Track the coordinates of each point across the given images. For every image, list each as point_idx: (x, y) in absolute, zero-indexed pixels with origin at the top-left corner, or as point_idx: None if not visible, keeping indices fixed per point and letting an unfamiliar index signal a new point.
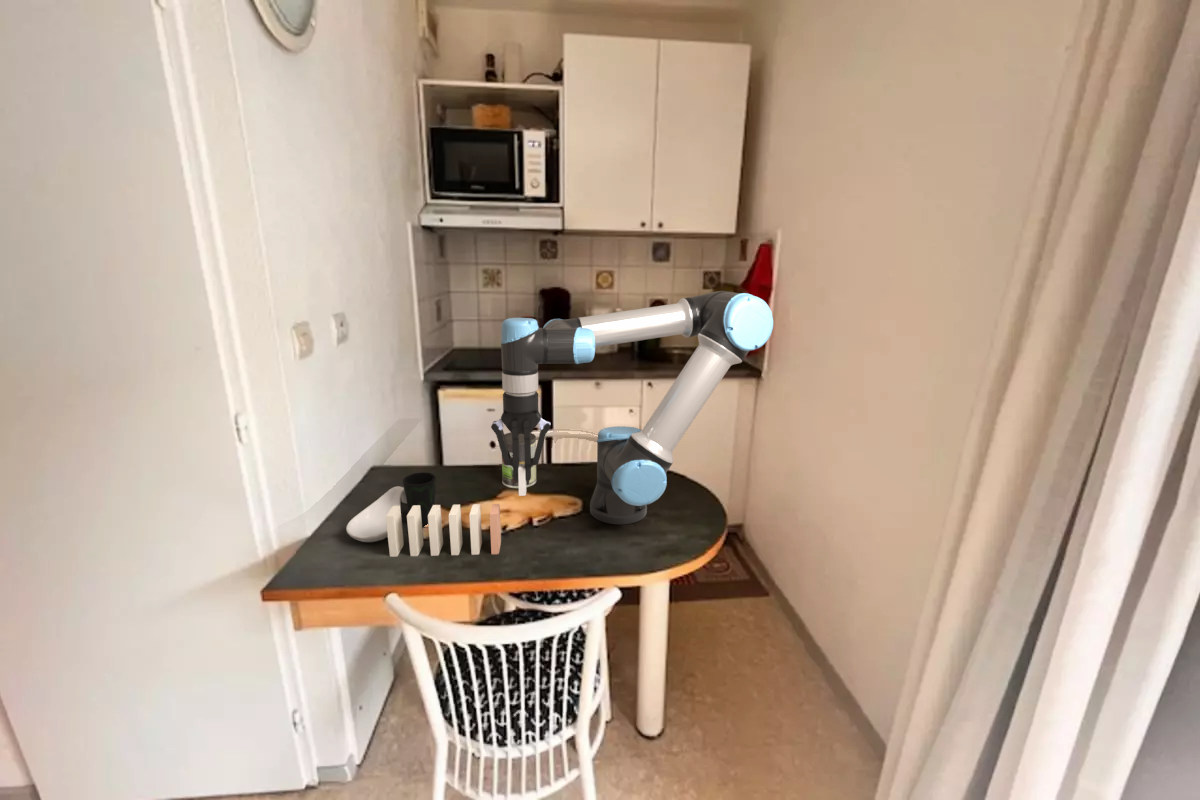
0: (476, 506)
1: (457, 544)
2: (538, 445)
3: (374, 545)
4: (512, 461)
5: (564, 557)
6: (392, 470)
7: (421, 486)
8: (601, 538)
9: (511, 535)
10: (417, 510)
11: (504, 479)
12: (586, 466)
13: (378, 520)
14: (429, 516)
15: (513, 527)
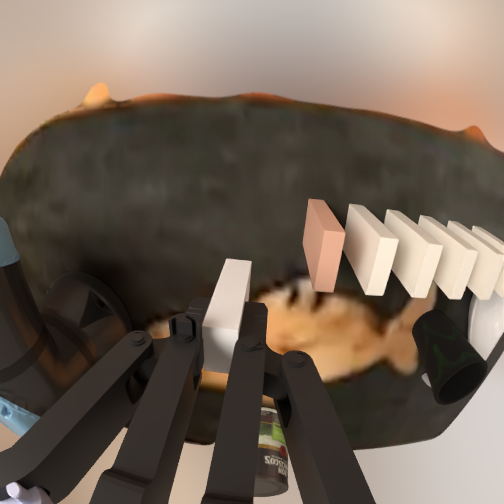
0: (376, 283)
1: (396, 216)
2: (78, 410)
3: None
4: (266, 370)
5: (169, 169)
6: (424, 434)
7: (466, 360)
8: (105, 231)
9: (280, 266)
10: (487, 278)
11: None
12: None
13: (483, 321)
14: (474, 249)
15: (275, 295)
